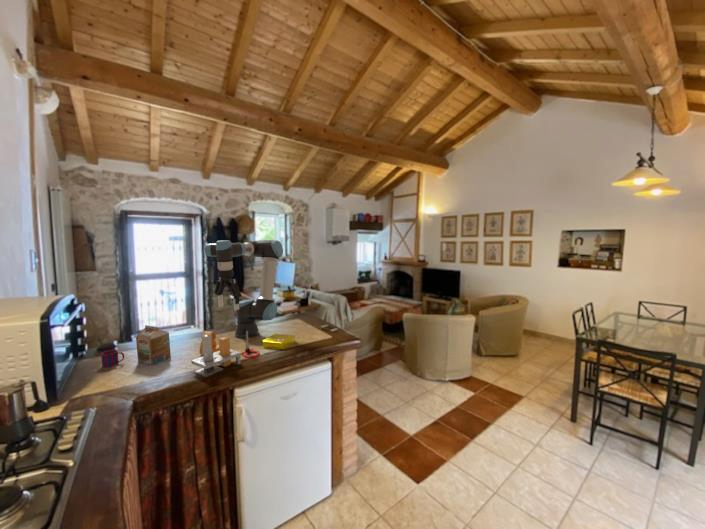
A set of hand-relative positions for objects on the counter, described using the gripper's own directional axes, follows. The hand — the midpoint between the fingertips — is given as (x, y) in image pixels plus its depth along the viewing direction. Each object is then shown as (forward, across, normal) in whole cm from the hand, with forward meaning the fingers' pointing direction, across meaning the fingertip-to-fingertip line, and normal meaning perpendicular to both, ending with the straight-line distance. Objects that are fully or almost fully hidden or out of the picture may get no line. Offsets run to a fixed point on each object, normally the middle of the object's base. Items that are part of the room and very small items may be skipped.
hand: (228, 308), depth 164 cm
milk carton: (+27, -31, -26) cm, 48 cm away
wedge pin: (+26, +8, -10) cm, 29 cm away
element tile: (+28, +9, +26) cm, 39 cm away
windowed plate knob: (+26, +7, -14) cm, 31 cm away
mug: (+26, -44, -40) cm, 65 cm away
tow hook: (+27, +8, +6) cm, 29 cm away
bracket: (+27, -14, -3) cm, 31 cm away
